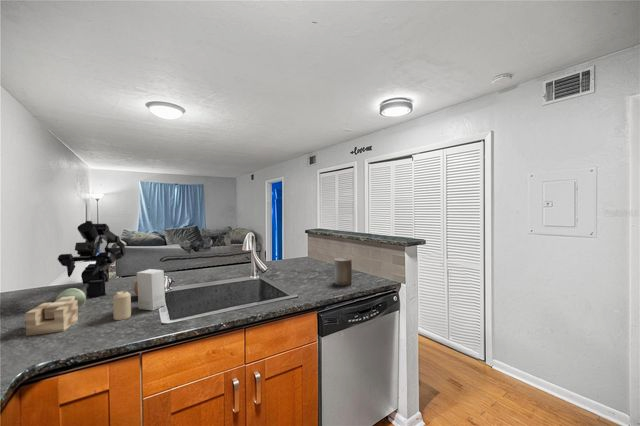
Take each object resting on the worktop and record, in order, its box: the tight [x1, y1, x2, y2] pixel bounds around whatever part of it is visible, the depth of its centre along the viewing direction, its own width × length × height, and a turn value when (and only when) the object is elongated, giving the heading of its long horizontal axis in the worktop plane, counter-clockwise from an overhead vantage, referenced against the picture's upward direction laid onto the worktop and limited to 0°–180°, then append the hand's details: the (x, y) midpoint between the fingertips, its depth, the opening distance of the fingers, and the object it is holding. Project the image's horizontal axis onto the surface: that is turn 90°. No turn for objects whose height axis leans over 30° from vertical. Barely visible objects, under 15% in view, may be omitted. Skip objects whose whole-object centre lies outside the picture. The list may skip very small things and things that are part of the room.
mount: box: [25, 300, 79, 336], centre depth 98 cm, size 10×10×8 cm
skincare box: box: [136, 268, 166, 311], centre depth 117 cm, size 8×7×16 cm
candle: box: [112, 290, 132, 321], centre depth 107 cm, size 6×6×10 cm
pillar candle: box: [333, 256, 353, 287], centre depth 154 cm, size 10×10×15 cm
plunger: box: [44, 287, 87, 319], centre depth 104 cm, size 14×9×9 cm, turn 19°
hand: (80, 275), depth 118 cm, fingers open, 8 cm apart
